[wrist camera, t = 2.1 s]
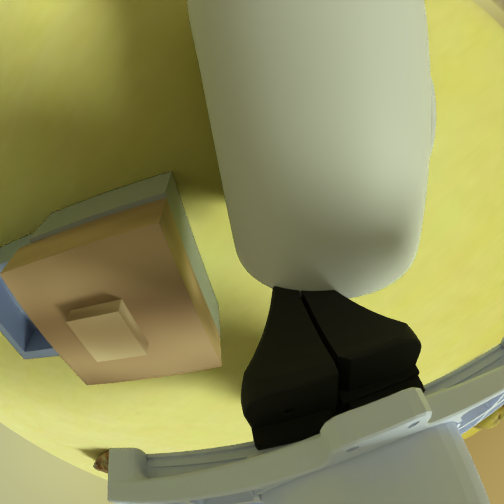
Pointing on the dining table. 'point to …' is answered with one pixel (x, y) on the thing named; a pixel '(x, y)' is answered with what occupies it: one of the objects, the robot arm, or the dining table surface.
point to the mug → (320, 135)
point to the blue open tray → (19, 314)
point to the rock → (102, 462)
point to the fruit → (491, 419)
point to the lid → (118, 297)
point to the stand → (128, 199)
